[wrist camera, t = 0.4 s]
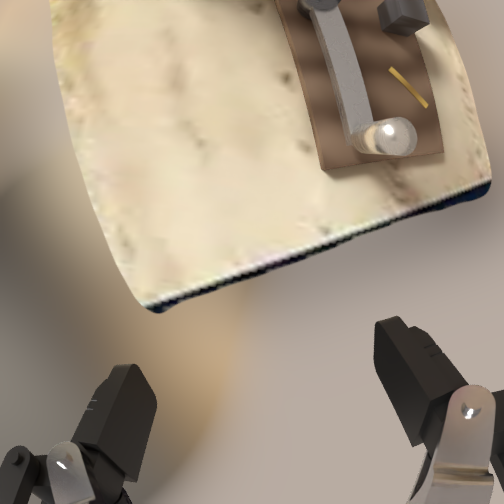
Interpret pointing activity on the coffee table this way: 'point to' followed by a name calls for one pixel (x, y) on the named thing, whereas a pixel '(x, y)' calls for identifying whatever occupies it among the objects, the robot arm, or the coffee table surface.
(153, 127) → the coffee table surface
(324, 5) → the lever
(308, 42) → the brown board
